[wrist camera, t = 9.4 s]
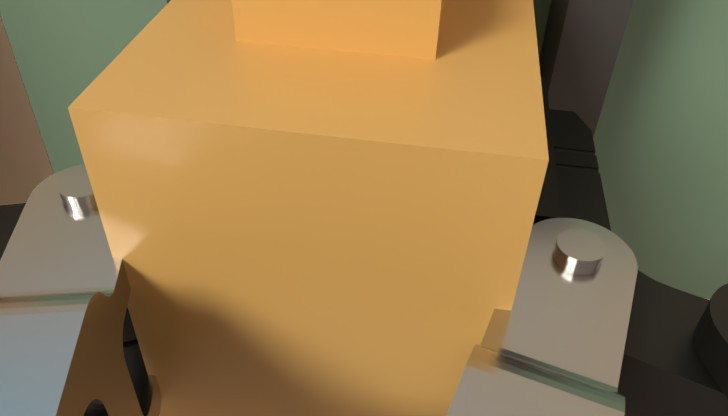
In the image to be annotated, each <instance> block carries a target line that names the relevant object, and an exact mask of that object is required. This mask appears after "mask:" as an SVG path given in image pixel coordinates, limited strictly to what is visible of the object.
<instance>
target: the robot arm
mask: <svg viewBox="0 0 728 416" xmlns="http://www.w3.org/2000/svg"><path fill="white" fill-rule="evenodd" d="M541 85H542V95H543V105H544V115H545V126H546V136H547V146H548V156H549V162H548V166H547V170H546V174H545V178H544V182H543V186H542V190H541V194H540V198H539V202H538V206H537V210H536V214H535V218H534V222H533V226H532V230H531V234H530V238H529V242H528V246H527V250H526V254H525V258H524V262H523V266H522V270H521V274H520V278H519V282H518V286H517V290H516V294H515V298H514V302H513V306H512V310H503V309H496V308H494V311H493V314H492V316H491V319H490V321H489V324H488V327H487V329H486V332H485V334H484V337H483V340H482V342H481V344H480V345H478V344H476V345H475V346H474V348H473V350H472V352H471V354H470V356H469V359H468V361H467V364H466V366H465V369H464V371H463V374H462V376H461V379H460V381H459V384H458V387H457V389H456V392H455V394H454V397H453V399H452V402H451V404H450V407H449V409H448V412H447V414H446V416H728V283H727V284H725V285H723V286H721V287H720V288H718V289H717V290H716V292H715V293H714V294H713V295H712V297H711V299H710V300H707V299H704V298H701V297H698V296H695V295H693V294H690V293H687V292H684V291H681V290H679V289H676V288H673V287H670V286H668V285H665V284H663V283H660V282H658V281H656V280H654V279H652V278H650V277H648V276H647V275H645V274H644V273H642V272H640V271H639V270H638V265H637V261H636V257H635V255H634V253H633V251H632V250H631V249H630V247H629V246H628V245H627V244H626V243H625V242H624V241H623V240H622V239H621V238H620V237H619V236H617V235H616V234H615V233H613V232H611V227H610V222H609V217H608V212H607V207H606V202H605V197H604V192H603V186H602V181H601V176H600V173H599V172H598V170H599V166H598V161H597V156H596V155H595V152H596V151H595V146H594V140H593V135H592V131H591V130H590V128H589V127H588V126H587V125H586V124H585V123H584V122H583V121H582V119H581V118H580V117H579V116H578V115H577V114H576V113H575V112H573V111H563V110H553V109H549V102H548V93H547V84H546V79H545V78H541ZM130 291H131V288H130V285H129V281H128V278H127V274H126V271H125V267H124V264H123V260H122V259H120V258H113V257H112V253H111V250H110V247H109V243H108V240H107V237H106V233H105V230H104V227H103V223H102V220H101V217H100V213H99V210H98V207H97V203H96V200H95V197H94V193H93V190H92V187H91V183H90V180H89V177H88V173H87V170H86V167H85V164H82V165H77V166H73V167H69V168H66V169H64V170H61V171H58V172H56V173H54V174H52V175H51V176H49V177H47V178H46V179H44V180H43V181H42V182H41V183H39V184H38V185H37V186H36V187H35V188H34V189H33V191H32V192H31V194H30V196H29V198H28V200H27V202H26V203H23V204H13V205H3V206H0V416H159V415H160V408H161V401H162V396H161V392H160V389H159V385H158V382H157V378H156V376H154V375H148V374H147V370H146V367H145V364H144V360H143V357H142V354H141V350H140V347H139V344H138V340H137V337H136V334H135V330H134V327H133V324H132V320H131V317H130V313H129V310H128V307H127V305H128V300H129V296H130Z"/></svg>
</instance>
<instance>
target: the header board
mask: <svg viewBox="0 0 728 416" xmlns="http://www.w3.org/2000/svg"><path fill="white" fill-rule="evenodd" d="M170 1H171V0H0V16H1V19H2V22H3V25H4V28H5V31H6V34H7V37H8V39H9V42H10V45H11V48H12V51H13V54H14V57H15V60H16V63H17V66H18V69H19V72H20V75H21V78H22V81H23V84H24V87H25V90H26V93H27V96H28V99H29V101H30V104H31V107H32V110H33V113H34V116H35V119H36V122H37V125H38V128H39V131H40V134H41V137H42V140H43V143H44V146H45V149H46V152H47V155H48V158H49V161H50V164H51V166H52V169H53V172H54V173H56V172H58V171H61V170H64V169H66V168H69V167H73V166H77V165H82V164H85V163H84V160H83V157H82V153H81V150H80V147H79V143H78V140H77V137H76V133H75V130H74V127H73V123H72V120H71V117H70V113H69V110H68V107H69V106H70V105H71V104H72V103H73V101H74V100H75V99H76V98H77V97H78V96H79V95H80V94H81V93H82V92H83V91H84V90H85V89H86V88H87V87H88V86H89V85H90V84H91V83H92V82H93V81H94V80H95V79H96V78H97V77H98V75H99V74H100V73H101V72H102V71H103V70H104V69H105V68H106V67H107V66H108V65H109V64H110V63H111V62H112V61H113V60H114V59H115V58H116V57H117V56H118V55H119V54H120V53H121V52H122V51H123V50H124V48H125V47H126V46H127V45H128V44H129V43H130V42H131V41H132V40H133V39H134V38H135V37H136V36H137V35H138V34H139V33H140V32H141V31H142V30H143V29H144V28H145V27H146V26H147V25H148V24H149V22H150V21H151V20H152V19H153V18H154V17H155V16H156V15H157V14H158V13H159V12H160V11H161V10H162V9H163V8H164V7H165V6H166V5H167V4H168V3H169V2H170ZM533 5H534V15H535V25H536V35H537V45H538V55H539V65H540V75H541V78H545V79H546V84H547V93H548V102H549V109H553V110H563V111H573V112H575V113H576V114H577V115H578V116H579V117H580V118H581V119H582V121H583V122H584V123H585V124H586V125H587V126H588V127H589V128H590V130H591V131H592V135H593V140H594V146H595V151H596V152H595V155H596V156H597V161H598V166H599V170H598V172H599V173H600V176H601V181H602V186H603V192H604V197H605V202H606V207H607V212H608V217H609V222H610V227H611V232H613V233H615V234H616V235H617V236H619V237H620V238H621V239H622V240H623V241H624V242H625V243H626V244H627V245H628V246H629V247H630V249H631V250H632V251H633V253H634V255H635V257H636V261H637V265H638V270H639V271H640V272H642V273H644V274H645V275H647V276H648V277H650V278H652V279H654V280H656V281H658V282H660V283H663V284H665V285H668V286H670V287H673V288H676V289H679V290H681V291H684V292H687V293H690V294H693V295H695V296H698V297H702V298H710V299H711V297H712V295H713V294H714V293H715V292H716V290H717V289H718V288H720V287H721V286H723V285H725V284H727V283H728V0H533Z"/></svg>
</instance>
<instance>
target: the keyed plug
mask: <svg viewBox="0 0 728 416" xmlns="http://www.w3.org/2000/svg"><path fill="white" fill-rule="evenodd" d="M68 110H69V113H70V117H71V120H72V123H73V127H74V130H75V133H76V137H77V140H78V143H79V147H80V150H81V153H82V157H83V160H84V163H85V167H86V170H87V173H88V177H89V180H90V183H91V187H92V190H93V193H94V197H95V200H96V203H97V207H98V210H99V213H100V217H101V220H102V223H103V227H104V230H105V233H106V237H107V240H108V243H109V247H110V250H111V253H112V257H113V258H120V259H122V260H123V264H124V267H125V271H126V274H127V278H128V281H129V285H130V288H131V291H130V296H129V300H128V305H127V307H128V310H129V313H130V317H131V320H132V324H133V327H134V330H135V334H136V337H137V340H138V344H139V347H140V350H141V354H142V357H143V360H144V364H145V367H146V370H147V374H148V375H154V376H156V378H157V382H158V385H159V389H160V392H161V396H162V401H161V408H160V416H446V414H447V412H448V409H449V407H450V404H451V402H452V399H453V397H454V394H455V392H456V389H457V387H458V384H459V381H460V379H461V376H462V374H463V371H464V369H465V366H466V364H467V361H468V359H469V356H470V354H471V352H472V350H473V348H474V346H475V345H476V344H478V345H480V344H481V342H482V340H483V337H484V334H485V332H486V329H487V327H488V324H489V321H490V319H491V316H492V314H493V311H494V308H496V309H503V310H512V306H513V302H514V298H515V294H516V290H517V286H518V282H519V278H520V274H521V270H522V266H523V262H524V258H525V254H526V250H527V246H528V242H529V238H530V234H531V230H532V226H533V222H534V218H535V214H536V210H537V206H538V202H539V198H540V194H541V190H542V186H543V182H544V178H545V174H546V170H547V166H548V162H549V156H548V146H547V136H546V126H545V115H544V105H543V95H542V85H541V75H540V65H539V55H538V45H537V35H536V25H535V15H534V5H533V0H171V1H170V2H169V3H168V4H167V5H166V6H165V7H164V8H163V9H162V10H161V11H160V12H159V13H158V14H157V15H156V16H155V17H154V18H153V19H152V20H151V21H150V22H149V24H148V25H147V26H146V27H145V28H144V29H143V30H142V31H141V32H140V33H139V34H138V35H137V36H136V37H135V38H134V39H133V40H132V41H131V42H130V43H129V44H128V45H127V46H126V47H125V48H124V50H123V51H122V52H121V53H120V54H119V55H118V56H117V57H116V58H115V59H114V60H113V61H112V62H111V63H110V64H109V65H108V66H107V67H106V68H105V69H104V70H103V71H102V72H101V73H100V74H99V75H98V77H97V78H96V79H95V80H94V81H93V82H92V83H91V84H90V85H89V86H88V87H87V88H86V89H85V90H84V91H83V92H82V93H81V94H80V95H79V96H78V97H77V98H76V99H75V100H74V101H73V103H72V104H71V105H70V106H69V107H68Z"/></svg>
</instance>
